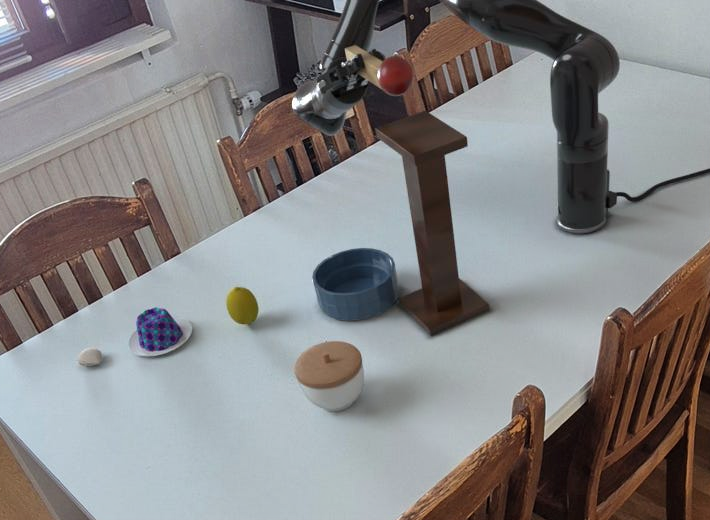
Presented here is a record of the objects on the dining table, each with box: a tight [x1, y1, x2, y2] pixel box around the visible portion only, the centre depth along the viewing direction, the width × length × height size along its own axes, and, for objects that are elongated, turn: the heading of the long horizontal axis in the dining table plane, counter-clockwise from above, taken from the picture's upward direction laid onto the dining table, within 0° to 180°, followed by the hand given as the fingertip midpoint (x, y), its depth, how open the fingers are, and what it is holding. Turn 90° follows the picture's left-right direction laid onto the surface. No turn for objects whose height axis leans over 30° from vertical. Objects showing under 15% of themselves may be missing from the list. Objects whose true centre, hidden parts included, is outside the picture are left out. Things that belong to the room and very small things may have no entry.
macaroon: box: [76, 347, 103, 367], centre depth 147 cm, size 4×5×2 cm
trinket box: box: [293, 340, 365, 412], centre depth 129 cm, size 11×11×9 cm
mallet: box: [345, 45, 414, 97], centre depth 127 cm, size 19×5×5 cm, turn 28°
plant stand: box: [375, 110, 490, 337], centre depth 135 cm, size 13×12×32 cm
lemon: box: [225, 286, 259, 326], centre depth 148 cm, size 6×6×8 cm
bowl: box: [311, 247, 400, 321], centre depth 150 cm, size 15×15×6 cm
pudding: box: [127, 307, 193, 357], centre depth 149 cm, size 12×12×5 cm
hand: (368, 58), depth 128 cm, fingers closed on mallet
